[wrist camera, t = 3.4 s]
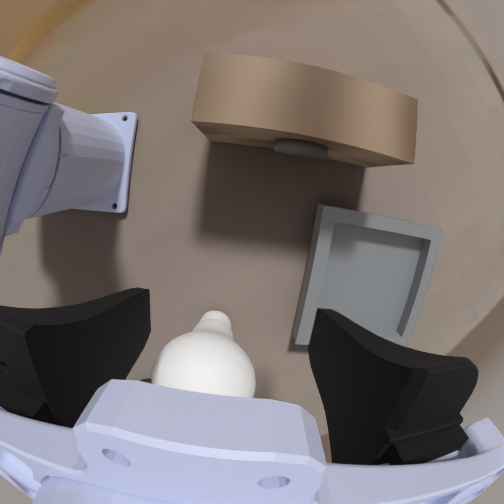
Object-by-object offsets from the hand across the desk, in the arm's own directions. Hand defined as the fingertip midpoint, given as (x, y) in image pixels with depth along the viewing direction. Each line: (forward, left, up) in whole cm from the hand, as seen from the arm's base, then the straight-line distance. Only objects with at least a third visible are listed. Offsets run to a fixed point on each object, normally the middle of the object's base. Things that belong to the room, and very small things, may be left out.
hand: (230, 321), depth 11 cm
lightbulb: (-1, -6, -10) cm, 12 cm away
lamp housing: (+3, +10, -10) cm, 15 cm away
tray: (+11, -1, -10) cm, 15 cm away
